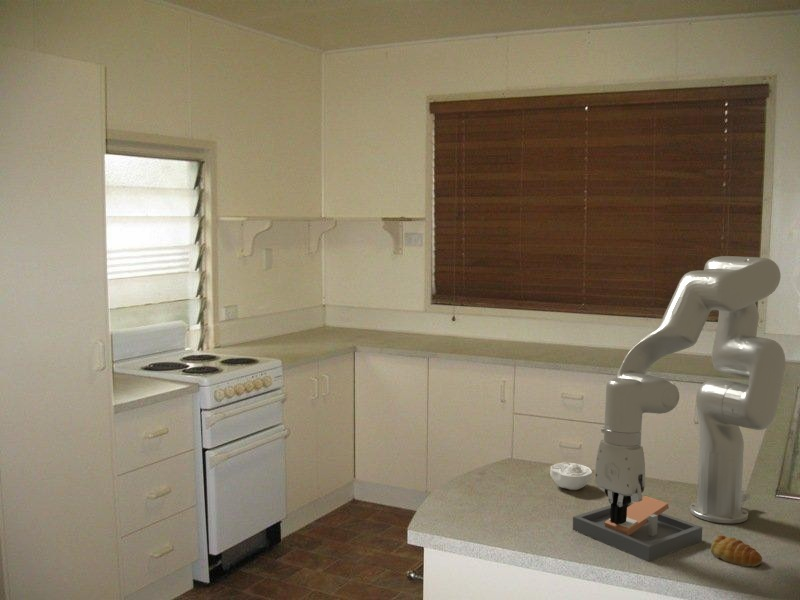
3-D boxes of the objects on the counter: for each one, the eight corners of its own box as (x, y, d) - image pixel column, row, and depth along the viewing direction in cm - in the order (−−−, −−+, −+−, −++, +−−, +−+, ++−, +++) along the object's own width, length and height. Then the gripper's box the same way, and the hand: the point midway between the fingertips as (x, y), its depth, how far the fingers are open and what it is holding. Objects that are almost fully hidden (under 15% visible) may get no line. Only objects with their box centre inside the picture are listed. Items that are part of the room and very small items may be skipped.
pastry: (768, 562, 156) (768, 544, 156) (752, 572, 152) (752, 553, 152) (722, 547, 164) (723, 530, 163) (706, 556, 159) (707, 538, 159)
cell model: (580, 479, 208) (581, 454, 207) (598, 494, 196) (598, 468, 195) (543, 480, 206) (544, 455, 206) (559, 496, 194) (559, 469, 194)
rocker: (644, 499, 176) (643, 494, 175) (669, 508, 170) (669, 502, 170) (603, 526, 168) (603, 520, 168) (628, 536, 163) (628, 530, 163)
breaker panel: (625, 512, 183) (626, 489, 182) (701, 540, 167) (702, 514, 166) (572, 529, 173) (573, 504, 172) (648, 561, 156) (649, 533, 156)
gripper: (582, 431, 168) (579, 515, 170) (640, 448, 156) (635, 537, 158) (606, 427, 173) (602, 508, 174) (663, 443, 160) (659, 530, 162)
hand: (618, 522), depth 166 cm, fingers closed
